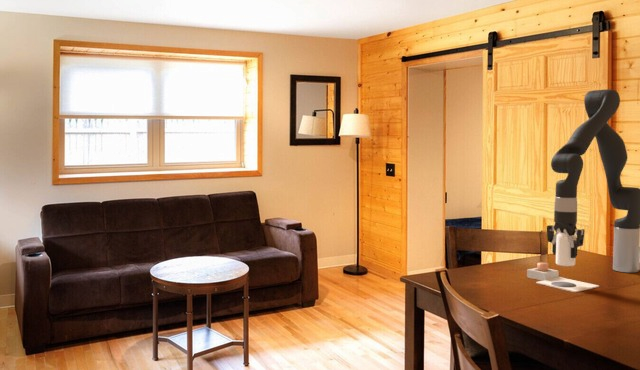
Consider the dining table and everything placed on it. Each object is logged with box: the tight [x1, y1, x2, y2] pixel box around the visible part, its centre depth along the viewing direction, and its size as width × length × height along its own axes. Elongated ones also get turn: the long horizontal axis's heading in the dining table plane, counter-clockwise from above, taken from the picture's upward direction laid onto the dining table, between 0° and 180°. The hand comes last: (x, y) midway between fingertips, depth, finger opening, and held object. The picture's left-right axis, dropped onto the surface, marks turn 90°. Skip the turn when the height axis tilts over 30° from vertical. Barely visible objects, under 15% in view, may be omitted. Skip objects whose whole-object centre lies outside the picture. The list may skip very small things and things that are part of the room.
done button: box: [536, 261, 550, 272], centre depth 232 cm, size 4×4×4 cm
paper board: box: [535, 276, 600, 293], centre depth 221 cm, size 14×16×1 cm
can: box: [555, 232, 576, 268], centre depth 219 cm, size 6×6×12 cm
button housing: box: [526, 267, 560, 281], centre depth 232 cm, size 8×8×3 cm
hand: (564, 256), depth 219 cm, fingers closed on can, 6 cm apart
